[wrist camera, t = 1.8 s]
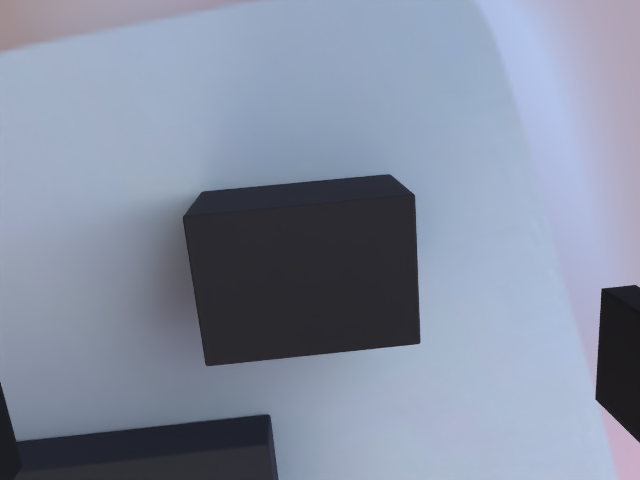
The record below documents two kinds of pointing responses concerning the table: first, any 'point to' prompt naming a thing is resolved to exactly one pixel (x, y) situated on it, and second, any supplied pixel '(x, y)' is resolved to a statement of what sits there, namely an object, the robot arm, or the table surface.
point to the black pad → (304, 268)
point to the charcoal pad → (158, 453)
